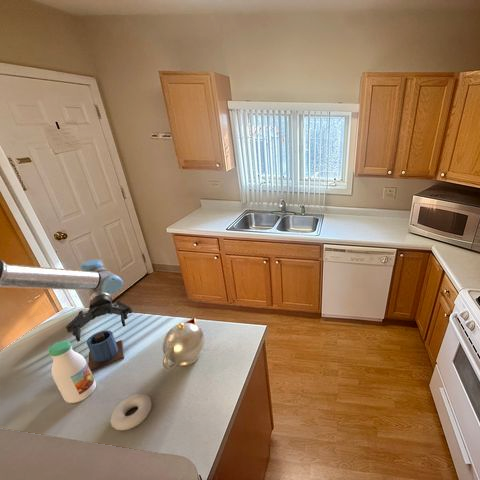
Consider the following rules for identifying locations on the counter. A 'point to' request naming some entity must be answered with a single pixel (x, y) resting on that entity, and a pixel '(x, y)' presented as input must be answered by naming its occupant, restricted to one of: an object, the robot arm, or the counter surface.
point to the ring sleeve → (102, 347)
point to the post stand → (117, 357)
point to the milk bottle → (71, 373)
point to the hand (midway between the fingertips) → (101, 330)
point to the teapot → (183, 344)
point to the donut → (128, 422)
